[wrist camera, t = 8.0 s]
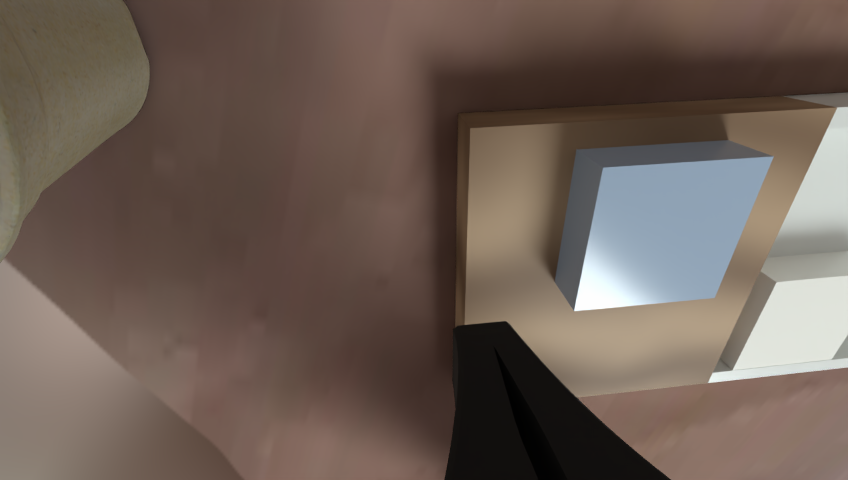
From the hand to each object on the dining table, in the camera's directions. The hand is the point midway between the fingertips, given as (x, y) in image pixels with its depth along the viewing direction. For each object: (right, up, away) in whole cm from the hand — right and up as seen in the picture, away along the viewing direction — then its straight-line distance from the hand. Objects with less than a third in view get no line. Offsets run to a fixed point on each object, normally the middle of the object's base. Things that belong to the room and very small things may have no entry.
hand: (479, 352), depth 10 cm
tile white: (+18, -1, +13) cm, 22 cm away
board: (+7, +2, +10) cm, 13 cm away
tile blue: (+7, +4, +6) cm, 10 cm away
